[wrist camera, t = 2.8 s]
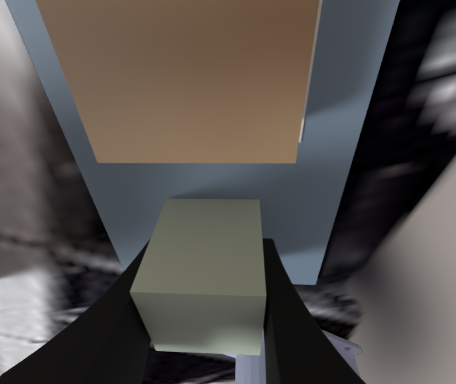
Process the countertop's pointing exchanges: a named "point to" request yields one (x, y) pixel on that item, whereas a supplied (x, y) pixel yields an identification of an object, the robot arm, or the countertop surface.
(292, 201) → the light blue flat board
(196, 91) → the walnut block
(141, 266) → the sage block
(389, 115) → the countertop surface
